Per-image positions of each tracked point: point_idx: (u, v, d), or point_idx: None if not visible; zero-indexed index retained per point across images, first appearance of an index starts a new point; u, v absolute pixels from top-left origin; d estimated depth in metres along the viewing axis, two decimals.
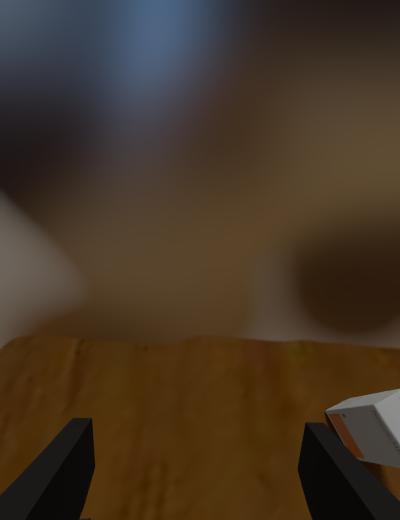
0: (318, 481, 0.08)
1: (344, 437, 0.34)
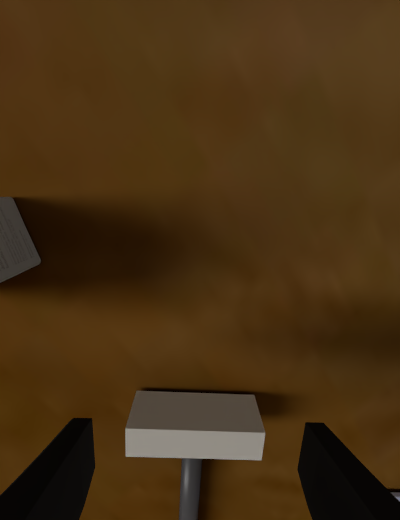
0: (318, 481, 0.08)
1: None
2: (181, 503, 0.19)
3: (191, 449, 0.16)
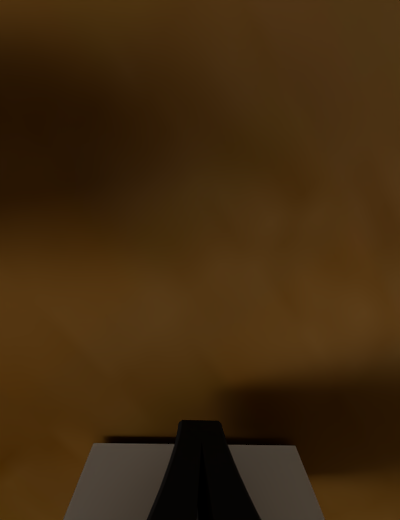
0: (200, 479, 0.08)
1: None
2: None
3: None
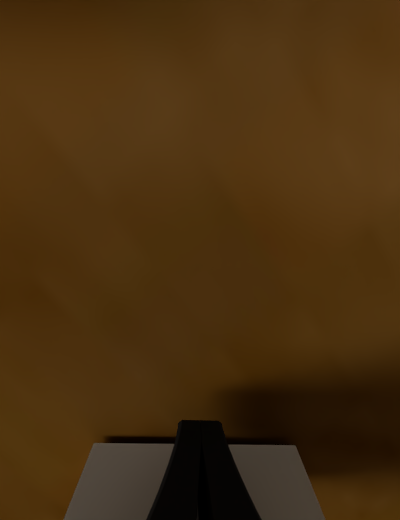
0: (200, 480, 0.08)
1: None
2: None
3: None
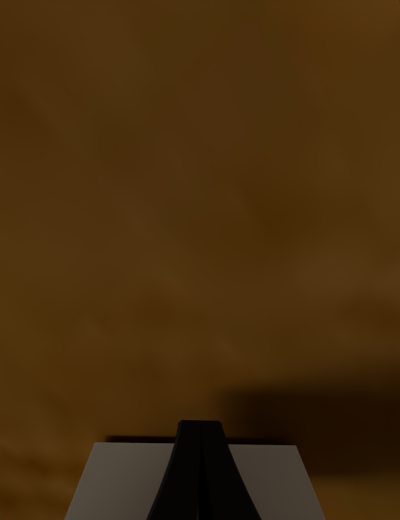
0: (200, 480, 0.08)
1: None
2: None
3: None
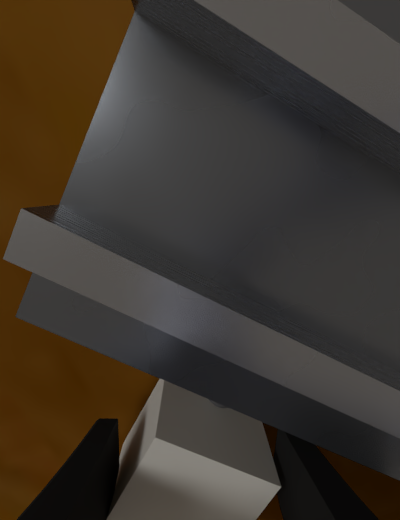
0: (288, 481, 0.08)
1: None
2: None
3: None
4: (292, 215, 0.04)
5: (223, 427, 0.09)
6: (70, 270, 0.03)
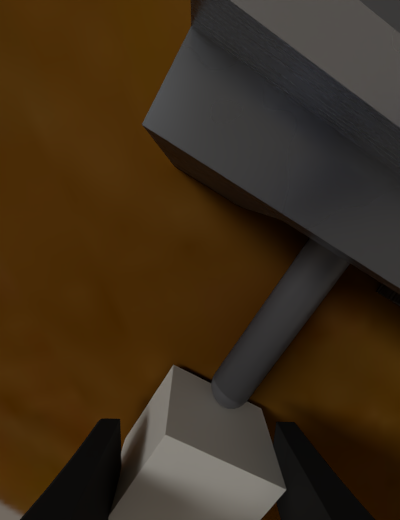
0: (285, 480, 0.08)
1: None
2: None
3: None
4: None
5: (229, 427, 0.09)
6: None
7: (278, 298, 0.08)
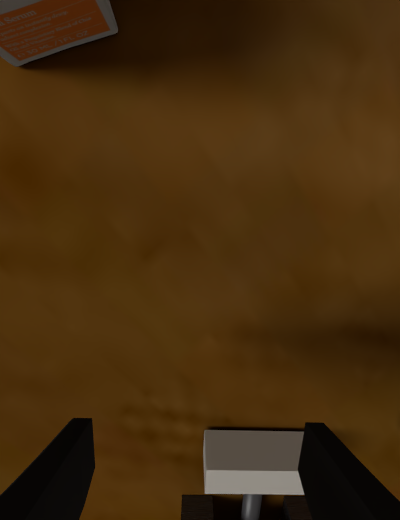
0: (318, 481, 0.08)
1: (58, 32, 0.13)
2: None
3: (263, 486, 0.18)
4: None
5: None
6: None
7: None
